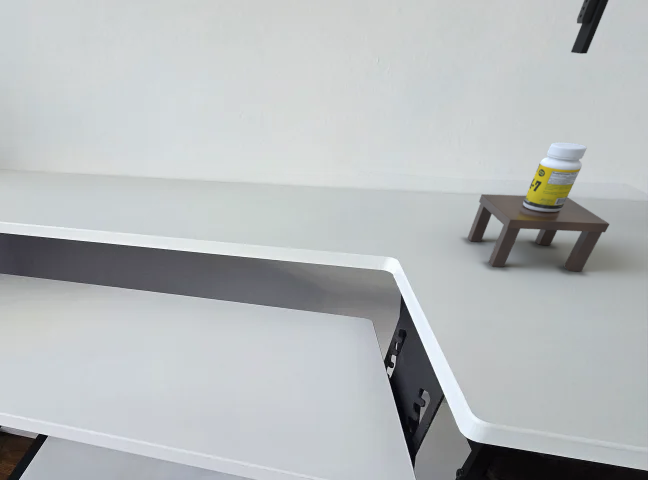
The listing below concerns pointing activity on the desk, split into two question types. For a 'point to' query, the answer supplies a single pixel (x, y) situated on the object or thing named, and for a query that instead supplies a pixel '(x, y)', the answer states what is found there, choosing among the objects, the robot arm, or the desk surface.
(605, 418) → the desk surface
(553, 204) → the supplement bottle
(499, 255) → the small wooden table
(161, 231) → the desk surface
